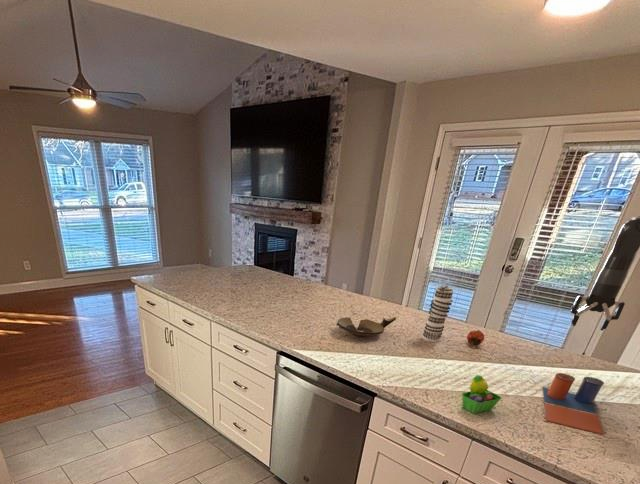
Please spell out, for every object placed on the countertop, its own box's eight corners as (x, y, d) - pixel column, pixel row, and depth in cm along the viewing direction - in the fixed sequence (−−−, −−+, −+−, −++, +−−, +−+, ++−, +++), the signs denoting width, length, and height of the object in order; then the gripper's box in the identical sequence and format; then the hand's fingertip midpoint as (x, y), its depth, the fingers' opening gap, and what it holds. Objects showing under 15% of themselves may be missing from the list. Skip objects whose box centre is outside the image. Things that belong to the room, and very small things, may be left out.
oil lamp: (333, 324, 216) (335, 310, 212) (391, 328, 214) (394, 314, 210) (335, 339, 197) (338, 324, 193) (399, 344, 195) (403, 328, 191)
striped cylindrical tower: (444, 341, 201) (460, 289, 187) (427, 342, 199) (442, 289, 186) (435, 335, 208) (449, 284, 195) (418, 335, 207) (431, 284, 193)
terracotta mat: (596, 416, 144) (597, 415, 144) (602, 434, 134) (603, 433, 134) (544, 403, 150) (544, 403, 150) (546, 421, 140) (546, 420, 140)
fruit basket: (473, 416, 141) (485, 386, 134) (454, 404, 147) (463, 375, 141) (497, 410, 145) (509, 381, 138) (477, 399, 151) (487, 371, 145)
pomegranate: (479, 352, 197) (488, 336, 198) (477, 342, 191) (487, 326, 193) (463, 349, 201) (473, 333, 203) (461, 339, 196) (471, 323, 198)
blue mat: (590, 398, 155) (591, 397, 155) (596, 414, 145) (596, 413, 145) (542, 388, 161) (542, 387, 161) (544, 402, 151) (544, 401, 151)
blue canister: (592, 398, 154) (602, 379, 150) (594, 405, 150) (605, 385, 145) (572, 394, 157) (582, 375, 152) (574, 401, 152) (584, 381, 148)
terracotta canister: (564, 394, 156) (574, 375, 152) (566, 401, 152) (576, 381, 147) (545, 390, 159) (555, 371, 154) (546, 397, 154) (556, 377, 150)
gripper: (586, 281, 142) (565, 326, 151) (637, 287, 136) (612, 334, 145) (583, 276, 147) (563, 321, 156) (632, 282, 142) (608, 328, 151)
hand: (587, 327), depth 151 cm, fingers open, 8 cm apart
